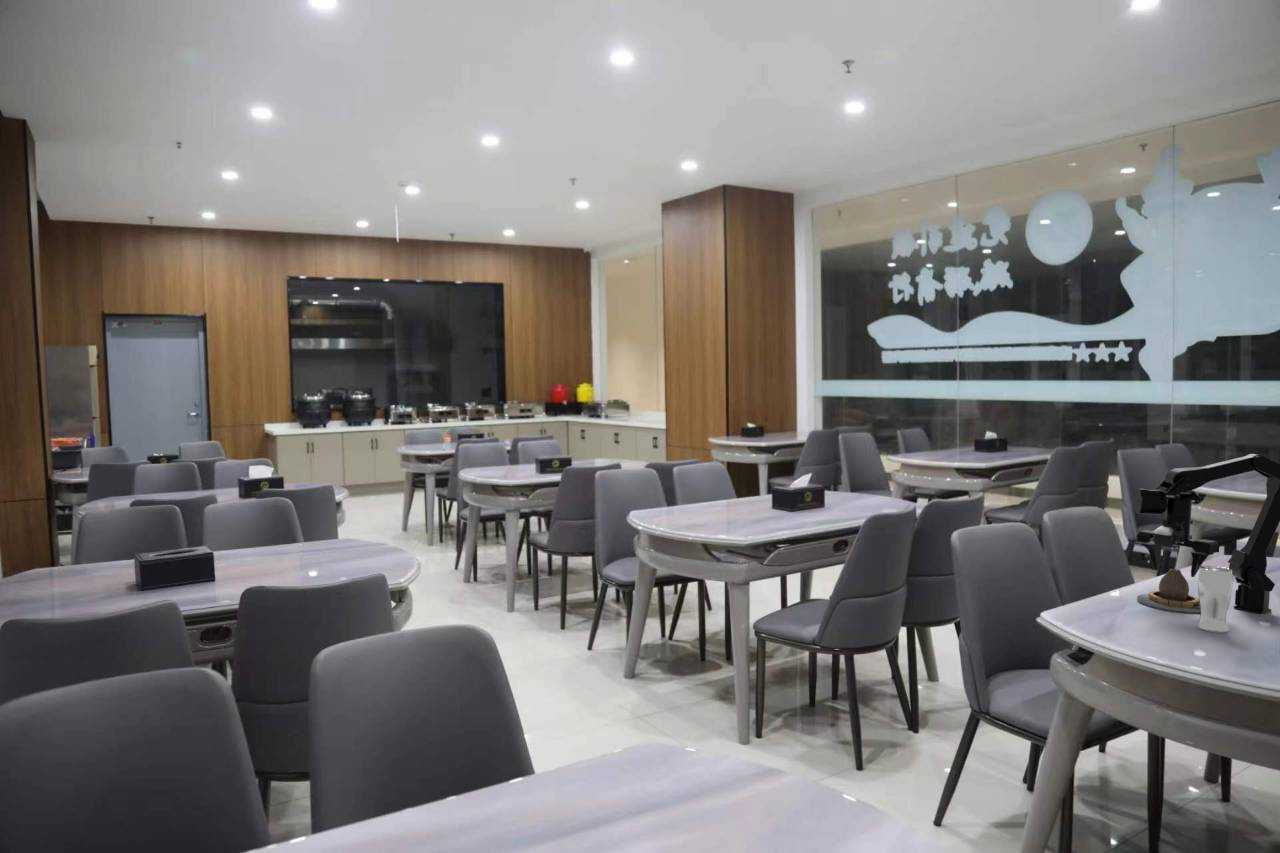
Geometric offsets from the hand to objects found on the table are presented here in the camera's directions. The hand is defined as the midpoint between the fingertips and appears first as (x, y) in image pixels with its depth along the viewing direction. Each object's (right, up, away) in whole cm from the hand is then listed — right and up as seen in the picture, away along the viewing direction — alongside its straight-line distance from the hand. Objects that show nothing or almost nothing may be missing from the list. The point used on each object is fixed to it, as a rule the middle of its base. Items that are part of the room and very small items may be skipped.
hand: (1174, 573), depth 230 cm
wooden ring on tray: (0, -9, 0) cm, 9 cm away
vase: (0, -8, +1) cm, 8 cm away
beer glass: (-5, -10, -22) cm, 25 cm away
